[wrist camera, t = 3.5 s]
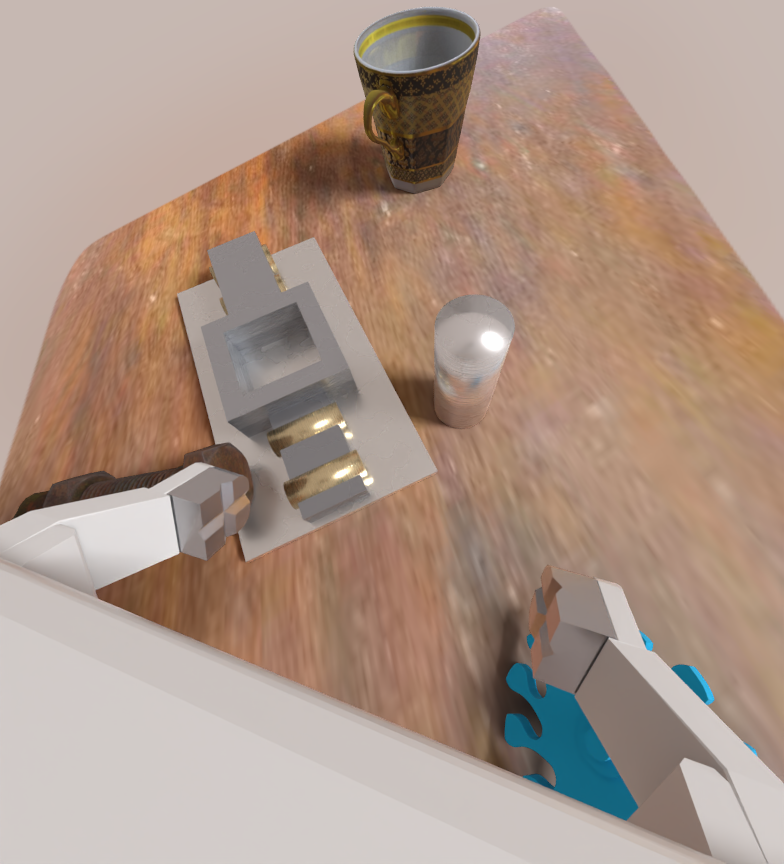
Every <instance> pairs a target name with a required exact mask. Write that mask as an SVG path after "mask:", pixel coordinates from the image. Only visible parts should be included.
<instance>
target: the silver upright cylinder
mask: <svg viewBox="0 0 784 864" xmlns="http://www.w3.org/2000/svg"><path fill="white" fill-rule="evenodd" d="M514 329H515V324H514V319H513V316H512V314H511V312H510V311H509V310H508V308H507V307H506V306H505V305H503V304H502V303H501V302H499V301H498V300H496V299H494V298H491V297H488V296H484V295H466V296H461V297H458V298H456V299H454V300H452V301H450V302H449V303H447V304H446V305H445V306H444V307H443V308H442V309H441V310H440V312H439V313H438V315H437V317H436V320H435V355H434V409H435V412H436V414H437V416H438V418H439V419H440V420H441V421H442V422H443V423H445V424H446V425H448V426H450V427H453V428H458V429H465V428H470V427H473V426H475V425H477V424H478V423H480V422H481V421H482V420H483V419H484V417H485V416H486V414H487V411H488V408H489V405H490V402H491V399H492V396H493V393H494V390H495V387H496V384H497V381H498V379H499V376H500V373H501V370H502V367H503V364H504V361H505V358H506V355H507V352H508V349H509V346H510V343H511V340H512V337H513V334H514Z"/></svg>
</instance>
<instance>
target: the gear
mask: <svg viewBox="0 0 784 864" xmlns="http://www.w3.org/2000/svg"><path fill="white" fill-rule="evenodd" d="M639 632H640V634H641V637H642V639H643V642H644V644H645V647H646V649H647V650H649V651H652V648H653V643H652V641H651V640H650V639H649V638H648V637H647V636H646V635H645V634H644V633H642V632H641V631H640V630H639ZM534 641H535V639H534V637H533V636H532V635H531V634H530V635H528V636H527V643H528V646H529V648H530V649H531V648H532V645H533V643H534ZM671 669H672V670H673V671H674V672H675V674H676V675H677V676H678V677H679V678H680V679H681V680H682V681H683V682H684V683H685V684H686V685H687V686H688V687H689V688H690V689H691V690H692V691H693V692H694V693H695V694H696V695H697V696H698V697H699V698H700V699H701V700H702V701H703V702H704V703H705V704H706V705H709V704H711V703H712V702H713V701H714V697H713V694H712V692H711V690H710V688H709V686H708V684H707V683H706V681H705V680H704V678H703V677H702V675H701V674H700V673H699V672H698V670H697V669H696V668H695V667H692V666H688V665H676V666H674V667H672V668H671ZM506 681H507V683H508V685H509V687H510V688H511V689H512V690H513V691H515V692H517V693H519V694H520V695H522V696H523V697H524V698H525V699H526V700H527V701H528V702H529V703H530V705H531V706H532V707H533V709H534V711H535V712H536V714H537V716H538V718H539V720H540V722H541V725H542V735H541V737H538V736H537V735H536V733H535V732H534V730H533V728H532V726H531V724H530V722H529V720H528V719H527V718H526V717H525V716H524V715H522V714H507V717H506V722H505V740H506V741H507V743H508V744H509V745H511V746H512V747H527V748H530V749H532V750H534V751H536V752H537V753H538V754H540V755H541V756H542V757H543V758H544V759H545V760H546V761H547V762H548V763H549V764H550V765H551V766H552V768H553V770H554V772H555V775H556V785H555V787H553V786H552V785H551V784H550V783H549V782H548V781H547V780H546V779H545V778H544V777H543V776H541V775H539V774H531V775H526V776H523V778H526V779H528V780H530V781H533V782H535V783H537V784H540V785H542V786H545V787H547V788H549V789H552V790H554V791H557V792H559V793H561V794H564V795H566V796H568V797H571V798H573V799H576V800H578V801H580V802H583V803H585V804H587V805H590V806H592V807H595V808H597V809H599V810H602V811H604V812H606V813H609V814H611V815H614V816H616V817H618V818H621V819H623V820H625V821H627V820H628V819H629V818H630V817H631V815H632V814H633V813H634V812H635V811H636V810H637V809H638V808H639V807H638V805H637V803H636V802H635V800H634V798H633V796H632V795H631V793H630V791H629V790H628V788H627V786H626V784H625V783H624V781H623V779H622V778H621V776H620V774H619V772H618V771H617V769H616V767H615V765H614V764H613V762H612V760H611V759H610V757H609V755H608V753H607V752H606V750H605V748H604V747H603V745H602V743H601V741H600V740H599V738H598V736H597V735H596V733H595V731H594V729H593V728H592V726H591V724H590V723H589V721H588V719H587V717H586V716H585V714H584V712H583V711H582V709H581V707H580V705H579V704H578V702H577V700H576V698H575V697H574V696H575V694H572V693H569V692H567V691H564V690H562V689H559V688H557V687H554V686H552V685H549V684H546V688H547V691H546V695H545V697H544V698H543V697H542V696H541V695H540V694H539V692H538V690H537V686H536V680H535V679H534V678H533V671H532V669H531V668H530V667H529V666H528V665H526V664H521V663H516V664H515V665H513V667H512V668H511V669H510V671H509V673H508V675H507V677H506ZM742 742H743V741H742ZM743 743H744V744H745V745H746V746H747V747H748V748H749V749H750V750H751V751H752V752H753V753H754V754H755V755H756V756H757V754H756V750H755V749H754V748H752V747H751V746H750V745H748V744H746V743H745V742H743Z"/></svg>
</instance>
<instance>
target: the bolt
mask: <svg viewBox="0 0 784 864" xmlns="http://www.w3.org/2000/svg"><path fill="white" fill-rule="evenodd" d="M200 462H202V463H205V464H208V465H212V466H214V467H219V468H222V469H225V470H228V471H231V472H234V473H237V474H240V475H244V476H245V477H246V478H248V480H249V490H248V491H247V493H246V494H245V495H246V496H247V498H248V499H249V501H250V506H251V504H252V500H253V497H254V485H253V480H252V475H251V471H250V468H249V464H248V461H247V459H246V458H245V456H244V455H243V453H242V452H241V451H240V450H238V449H237V448H236V447H235V446H234V445H232V444H231V443H230V442H227V443H222V444H216V445H212V446H209V447H206V448H203V449H200V450H197V451H194V452H191V453H188V454H185V455H184V464H183V466H180V467H178V468H175V469H169V470H163V471H157V472H151V473H146V474H140V475H136V476H129V477H124V478H119V479H116V478H115V477H113V476H112V475H110V474H108V473H107V472H105V471H100V472H94V473H89V474H85V475H82V476H78V477H74V478H71V479H67V480H64V481H61V482H58V483H55V484H53V485H52V487H51V488H50V490H49V491H46V492H40V493H34V494H33V495H31V496H29V497H28V498H26V499H25V500H24V501H23V503H22V504H21V505H20V507H19V509H18V511H17V513H16V514H15V516H14V518H13V519H15V518H17V517H19V516H21V515H23V514H25V513H27V512H30V511H33V510H38V509H43V508H47V507H52V506H57V505H62V504H67V503H72V502H76V501H81V500H86V499H91V498H96V497H101V496H105V495H110V494H115V493H120V492H125V491H129V490H134V489H139V488H148V489H150V488H151V487H153V486H155V485H157V484H158V483H160V482H162V481H164V480H165V479H167V478H169V477H171V476H173V475H174V474H176V473H178V472H180V471H181V470H183V469H185V468H187V467H189V466H190V465H192V464H194V463H200ZM13 519H12V520H13Z"/></svg>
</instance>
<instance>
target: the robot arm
mask: <svg viewBox="0 0 784 864" xmlns="http://www.w3.org/2000/svg"><path fill="white" fill-rule="evenodd" d="M248 490H249V480H248V478H246V477H245V476H244V475H240V474H237V473H234V472H231V471H228V470H225V469H222V468H219V467H214V466H212V465H208V464H205V463H202V462H200V463H194V464H192V465H190V466H189V467H187V468H185V469H183V470H181V471H180V472H178V473H176V474H174V475H173V476H171V477H169V478H167V479H165V480H164V481H162V482H160V483H158V484H157V485H155V486H153V487H151V488H150V489H148V488H139V489H134V490H129V491H125V492H120V493H115V494H110V495H105V496H101V497H96V498H91V499H86V500H81V501H76V502H72V503H67V504H62V505H57V506H52V507H47V508H43V509H38V510H33V511H30V512H27V513H25V514H23V515H21V516H19V517H17V518H15V519H13V520H11V521H8V522H6V523H4V524H2V525H0V864H784V783H783V782H782V781H781V780H780V779H779V778H778V777H777V776H776V775H775V774H774V773H773V772H772V771H771V770H770V769H769V768H768V767H767V766H766V765H765V764H764V763H763V762H762V761H761V760H760V759H759V758H758V757H757V756H756V755H755V754H754V753H753V752H752V751H751V750H750V749H749V748H748V747H747V746H746V745H745V744H744V743H743V742H742V741H741V740H740V739H739V738H738V737H737V736H736V735H735V734H734V732H733V731H732V730H731V729H730V728H729V727H728V726H727V725H726V724H725V723H724V722H723V721H722V720H721V719H720V718H719V717H718V716H717V715H716V714H715V713H714V712H713V711H712V710H711V709H710V708H709V707H708V706H707V705H706V704H705V703H704V702H703V701H702V700H701V699H700V698H699V697H698V696H697V695H696V694H695V693H694V692H693V691H692V690H691V689H690V688H689V687H688V686H687V685H686V684H685V683H684V682H683V681H682V680H681V679H680V678H679V677H678V676H677V675H676V674H675V672H674V671H673V670H672V669H671V668H670V667H669V666H668V665H667V664H666V663H665V662H664V661H663V660H662V659H661V658H660V657H659V656H658V655H657V654H656V653H655V652H652V651H649V650H647V649H646V647H645V644H644V642H643V639H642V637H641V634H640V632H639V629H638V627H637V624H636V622H635V620H634V617H633V615H632V612H631V610H630V607H629V605H628V602H627V600H626V597H625V595H624V592H623V590H622V588H621V587H620V586H619V585H618V584H617V583H613V582H609V581H606V580H602V579H598V578H595V577H593V578H592V577H589V576H585V575H582V574H578V573H575V572H571V571H568V570H564V569H561V568H557V567H554V566H550V565H547V566H546V567H545V569H544V571H543V573H542V575H541V582H542V587H541V588H539V589H537V590H535V592H534V595H533V598H532V601H531V606H530V611H529V632H530V633H531V635H532V636H533V637H534V639H535V641H534V643H533V645H532V648H531V659H532V671H533V678H534V679H536V680H539V681H541V682H544V683H546V684H549V685H552V686H554V687H557V688H559V689H562V690H564V691H567V692H569V693H572V694H575V696H574V697H575V698H576V700H577V702H578V704H579V705H580V707H581V709H582V711H583V712H584V714H585V716H586V717H587V719H588V721H589V723H590V724H591V726H592V728H593V729H594V731H595V733H596V735H597V736H598V738H599V740H600V741H601V743H602V745H603V747H604V748H605V750H606V752H607V753H608V755H609V757H610V759H611V760H612V762H613V764H614V765H615V767H616V769H617V771H618V772H619V774H620V776H621V778H622V779H623V781H624V783H625V784H626V786H627V788H628V790H629V791H630V793H631V795H632V796H633V798H634V800H635V802H636V803H637V805H638V807H639V808H638V809H637V810H636V811H635V812H634V813H633V814H632V815H631V817H630V818H629V819H628V820H627V821H625V820H623V819H621V818H618V817H616V816H614V815H611V814H609V813H606V812H604V811H602V810H599V809H597V808H595V807H592V806H590V805H587V804H585V803H583V802H580V801H578V800H576V799H573V798H571V797H568V796H566V795H564V794H561V793H559V792H557V791H554V790H552V789H549V788H547V787H545V786H542V785H540V784H537V783H535V782H533V781H530V780H528V779H526V778H523V777H521V776H518V775H516V774H514V773H511V772H509V771H507V770H504V769H502V768H499V767H497V766H495V765H492V764H490V763H488V762H485V761H483V760H480V759H478V758H476V757H473V756H471V755H469V754H466V753H464V752H461V751H459V750H457V749H454V748H452V747H450V746H447V745H445V744H442V743H440V742H438V741H435V740H433V739H430V738H428V737H426V736H423V735H421V734H419V733H416V732H414V731H411V730H409V729H407V728H404V727H402V726H399V725H397V724H395V723H392V722H390V721H388V720H385V719H383V718H380V717H378V716H376V715H373V714H371V713H369V712H366V711H364V710H361V709H359V708H357V707H354V706H352V705H349V704H347V703H345V702H342V701H340V700H338V699H335V698H333V697H330V696H328V695H326V694H323V693H321V692H319V691H316V690H314V689H311V688H309V687H307V686H304V685H302V684H299V683H297V682H295V681H292V680H290V679H288V678H285V677H283V676H280V675H278V674H276V673H273V672H271V671H269V670H266V669H264V668H261V667H259V666H257V665H254V664H252V663H250V662H247V661H245V660H242V659H240V658H238V657H235V656H233V655H231V654H228V653H226V652H223V651H221V650H219V649H216V648H214V647H212V646H209V645H207V644H204V643H202V642H200V641H197V640H195V639H193V638H190V637H188V636H185V635H183V634H181V633H178V632H176V631H174V630H171V629H169V628H166V627H164V626H162V625H159V624H157V623H155V622H152V621H150V620H147V619H145V618H143V617H140V616H138V615H136V614H133V613H131V612H128V611H126V610H124V609H121V608H119V607H117V606H114V605H112V604H109V603H107V602H105V601H102V600H100V599H98V597H97V594H96V591H95V590H97V589H100V588H102V587H104V586H106V585H109V584H111V583H113V582H116V581H118V580H120V579H122V578H125V577H127V576H129V575H131V574H134V573H136V572H138V571H141V570H143V569H145V568H147V567H150V566H152V565H154V564H157V563H159V562H161V561H163V560H166V559H168V558H170V557H172V556H175V555H177V554H179V552H182V553H185V554H188V555H191V556H194V557H197V558H201V559H204V560H208V559H209V558H210V557H212V556H213V555H214V554H215V553H216V552H217V551H218V550H219V549H220V548H221V547H222V546H224V545H225V541H226V537H228V536H231V535H234V534H236V533H238V532H239V531H240V530H241V529H242V528H243V527H244V525H245V523H246V521H247V520H248V518H249V514H250V501H249V499H248V498H247V496H246V495H245V494H246V493H247V491H248Z"/></svg>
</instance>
